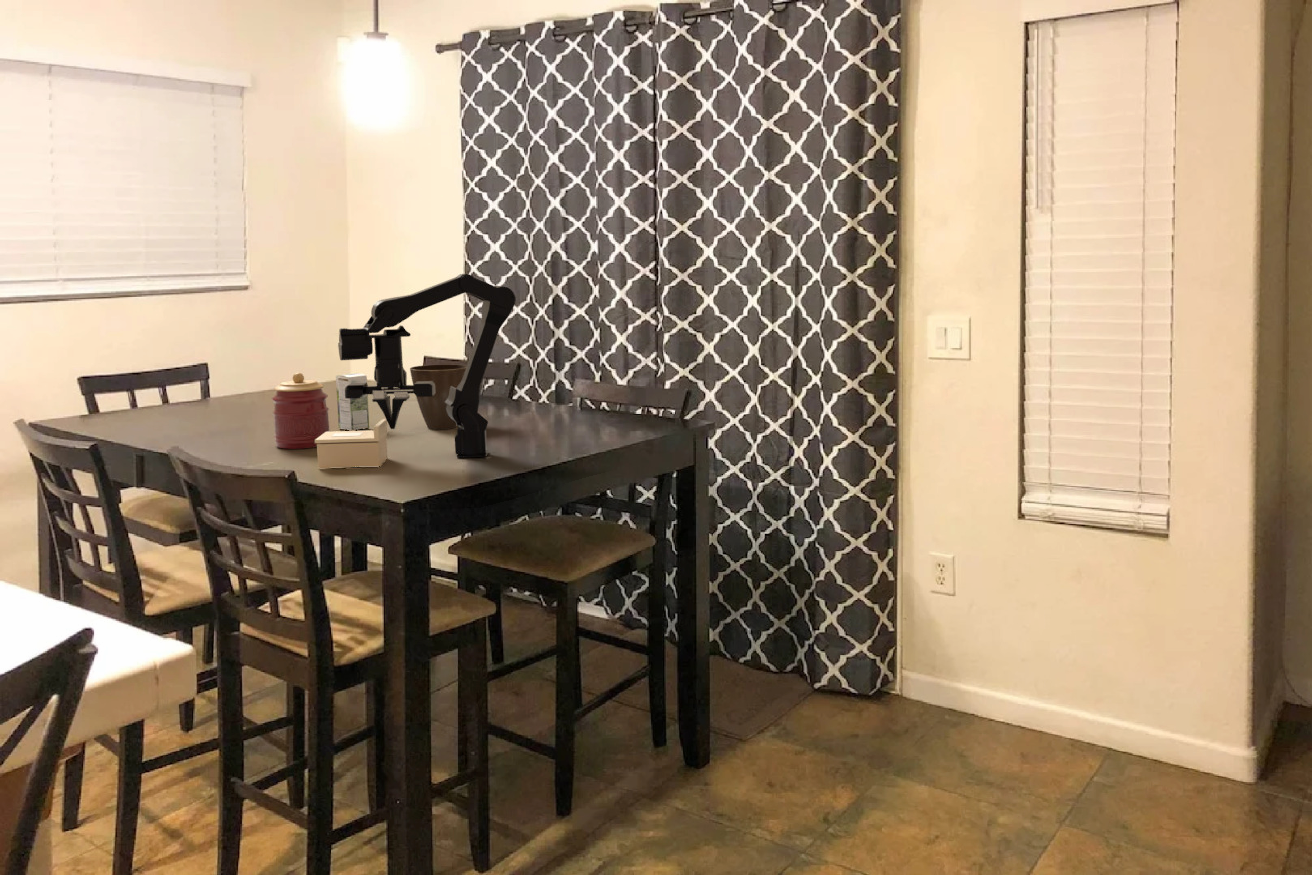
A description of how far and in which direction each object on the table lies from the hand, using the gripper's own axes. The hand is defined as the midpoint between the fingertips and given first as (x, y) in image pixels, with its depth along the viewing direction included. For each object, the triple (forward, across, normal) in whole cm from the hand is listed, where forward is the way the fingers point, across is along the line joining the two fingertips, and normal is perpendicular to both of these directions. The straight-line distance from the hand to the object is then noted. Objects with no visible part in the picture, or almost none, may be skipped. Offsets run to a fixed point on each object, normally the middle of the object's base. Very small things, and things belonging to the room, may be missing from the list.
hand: (392, 428), depth 242 cm
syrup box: (+8, +18, -48) cm, 52 cm away
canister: (+8, +26, -27) cm, 38 cm away
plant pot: (+8, -5, -46) cm, 47 cm away
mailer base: (+8, +9, 0) cm, 12 cm away
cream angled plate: (+2, +9, 0) cm, 9 cm away
